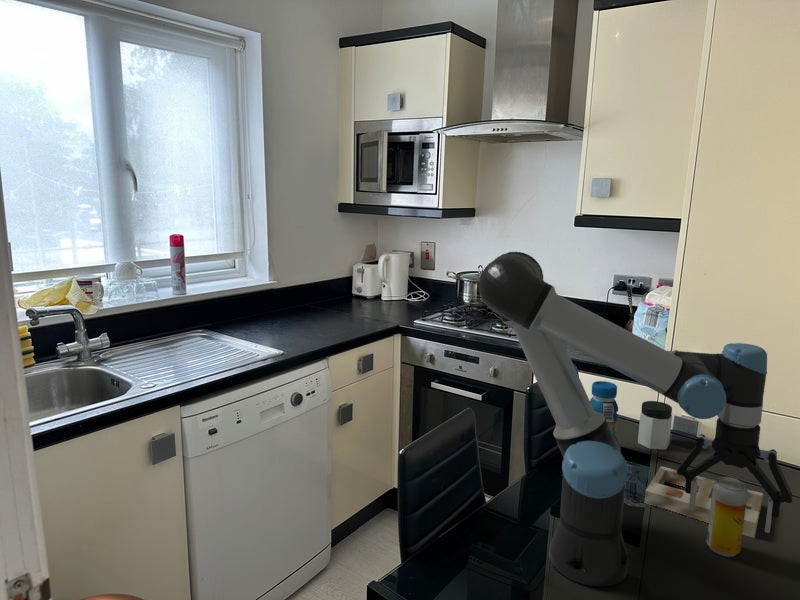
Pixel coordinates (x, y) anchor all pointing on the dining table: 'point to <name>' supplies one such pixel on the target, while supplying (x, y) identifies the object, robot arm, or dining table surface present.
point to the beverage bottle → (605, 402)
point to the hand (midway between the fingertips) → (728, 518)
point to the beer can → (727, 516)
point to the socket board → (681, 500)
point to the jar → (655, 425)
